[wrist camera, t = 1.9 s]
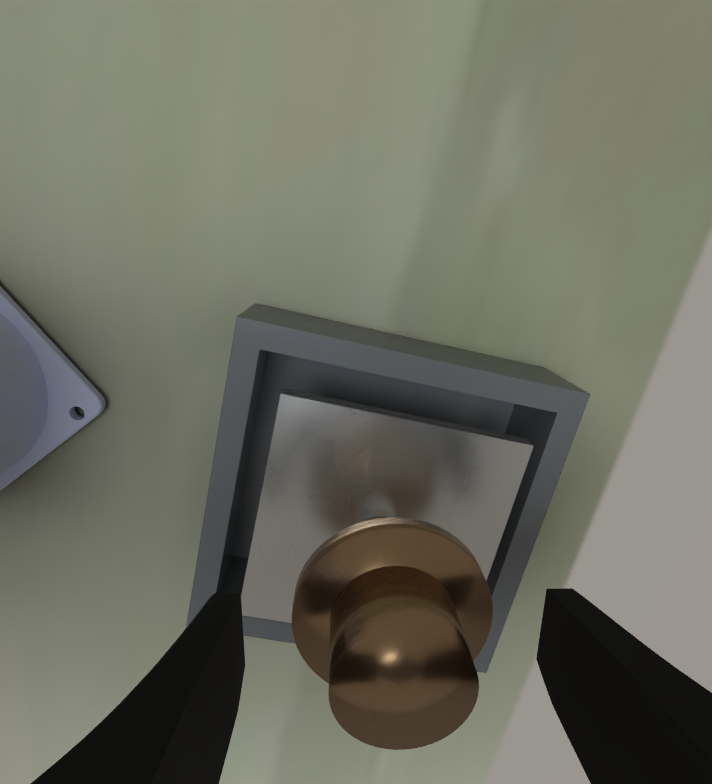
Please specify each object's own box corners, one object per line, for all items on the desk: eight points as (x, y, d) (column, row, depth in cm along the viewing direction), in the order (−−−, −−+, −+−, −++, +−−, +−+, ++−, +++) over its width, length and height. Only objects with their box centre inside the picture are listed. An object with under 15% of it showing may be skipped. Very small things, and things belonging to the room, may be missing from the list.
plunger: (457, 636, 17) (523, 846, 11) (240, 601, 17) (186, 806, 10) (526, 438, 15) (651, 563, 9) (283, 387, 15) (245, 488, 8)
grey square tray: (462, 606, 22) (486, 672, 18) (210, 564, 21) (186, 626, 17) (544, 367, 19) (589, 394, 15) (255, 303, 18) (236, 316, 14)
